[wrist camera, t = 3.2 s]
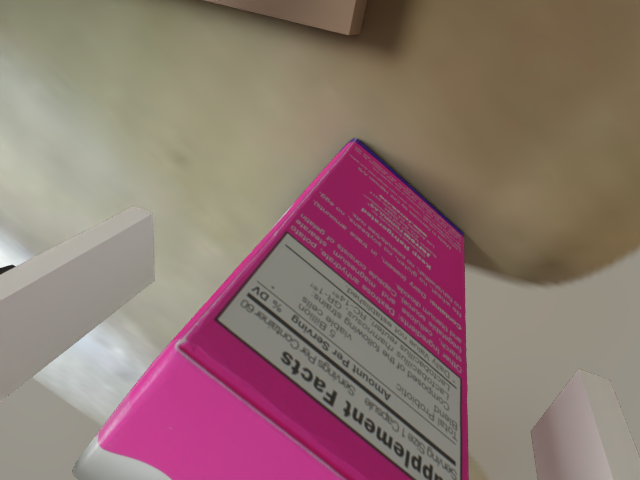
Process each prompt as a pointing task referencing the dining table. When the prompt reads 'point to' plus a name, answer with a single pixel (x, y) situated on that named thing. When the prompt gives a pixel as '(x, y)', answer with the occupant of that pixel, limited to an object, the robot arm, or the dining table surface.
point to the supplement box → (314, 351)
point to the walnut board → (309, 12)
